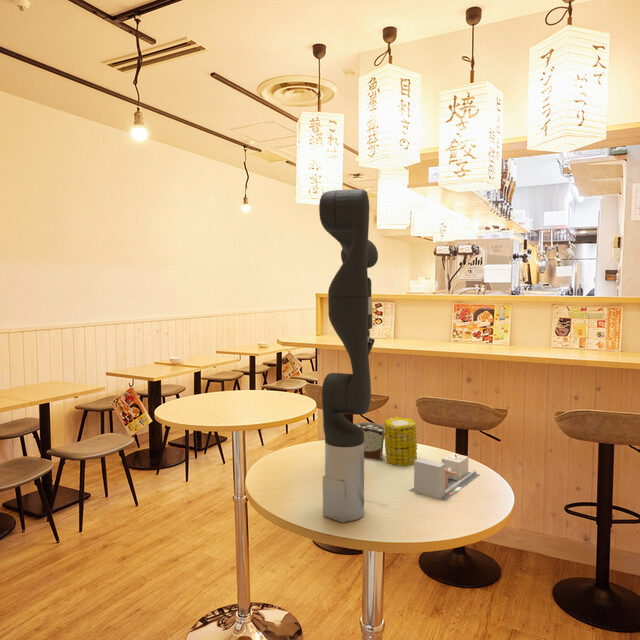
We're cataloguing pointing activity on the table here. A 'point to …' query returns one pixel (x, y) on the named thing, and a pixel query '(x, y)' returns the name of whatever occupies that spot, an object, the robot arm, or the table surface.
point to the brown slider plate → (447, 476)
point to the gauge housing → (456, 465)
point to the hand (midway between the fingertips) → (359, 371)
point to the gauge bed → (437, 480)
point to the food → (400, 441)
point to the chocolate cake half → (373, 440)
